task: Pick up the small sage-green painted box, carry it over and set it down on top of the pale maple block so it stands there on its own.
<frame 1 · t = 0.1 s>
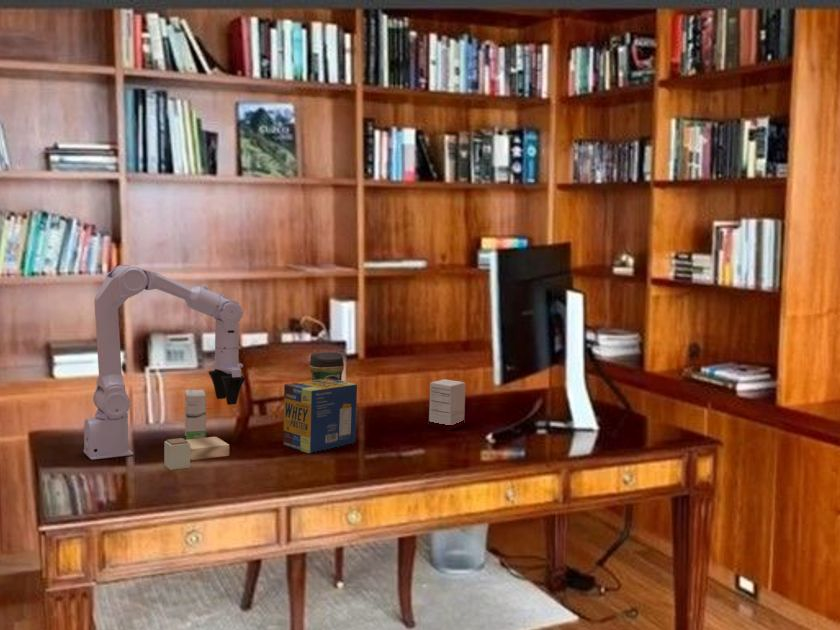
hand: (226, 401, 215), 10 cm above the table, tool pointing down, fingers open, 7 cm apart
protein box: (319, 445, 216), on the table
ink box: (195, 438, 218), on the table
coffee jar: (325, 417, 248), on the table
sage box: (177, 466, 193), on the table
maple block: (204, 455, 204), on the table
supplement box: (446, 427, 239), on the table
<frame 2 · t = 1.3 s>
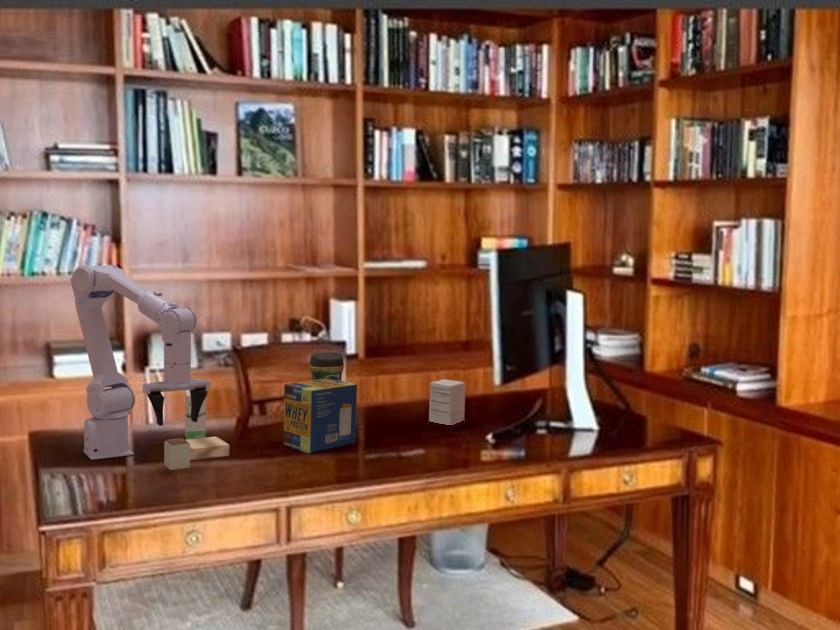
hand: (177, 423, 192), 10 cm above the table, tool pointing down, fingers open, 7 cm apart
nothing on the table moved.
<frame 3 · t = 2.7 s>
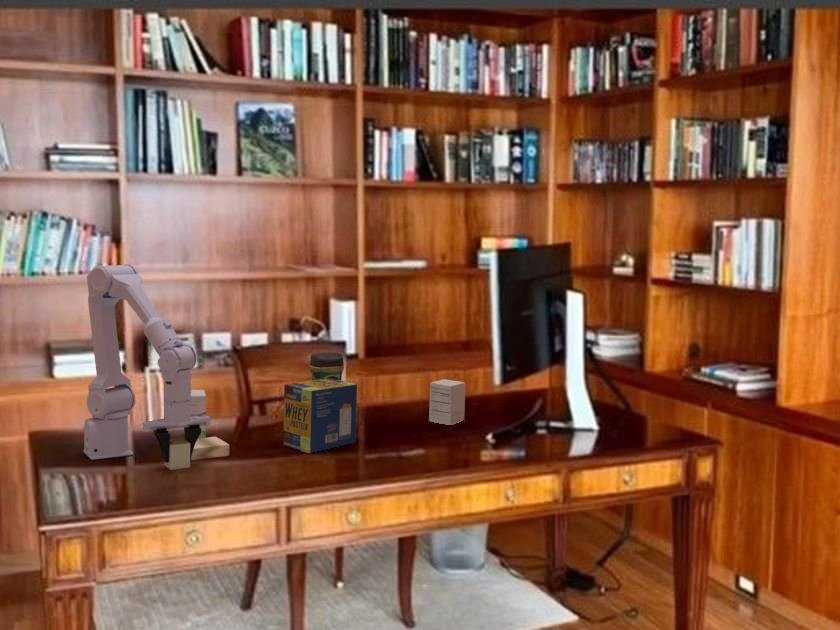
hand: (177, 460, 193), 1 cm above the table, tool pointing down, fingers closed on sage box, 4 cm apart
sage box: (177, 466, 193), on the table, touching gripper
everything else where it was.
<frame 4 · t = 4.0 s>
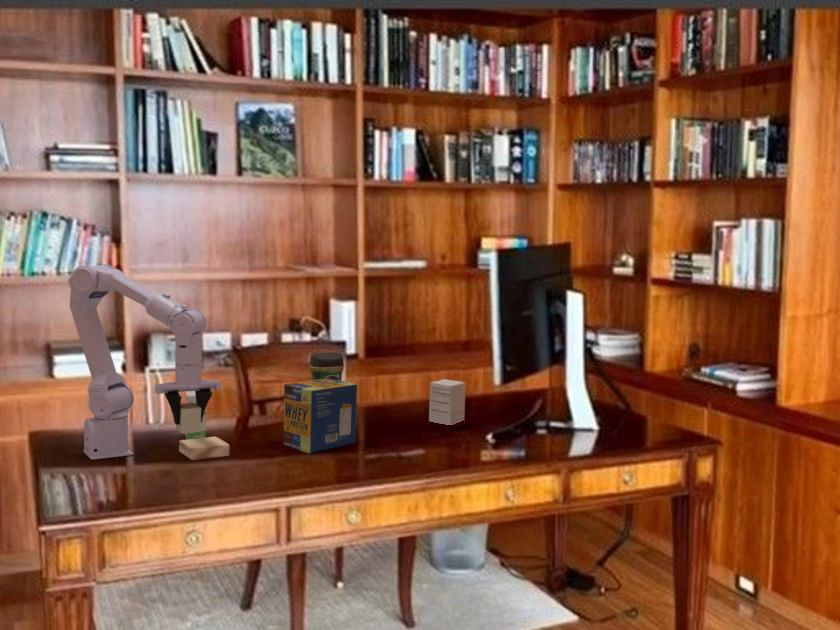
hand: (188, 422, 196), 9 cm above the table, tool pointing down, fingers closed on sage box, 4 cm apart
sage box: (188, 430, 196), point 7 cm above the table, touching gripper
everything else where it was.
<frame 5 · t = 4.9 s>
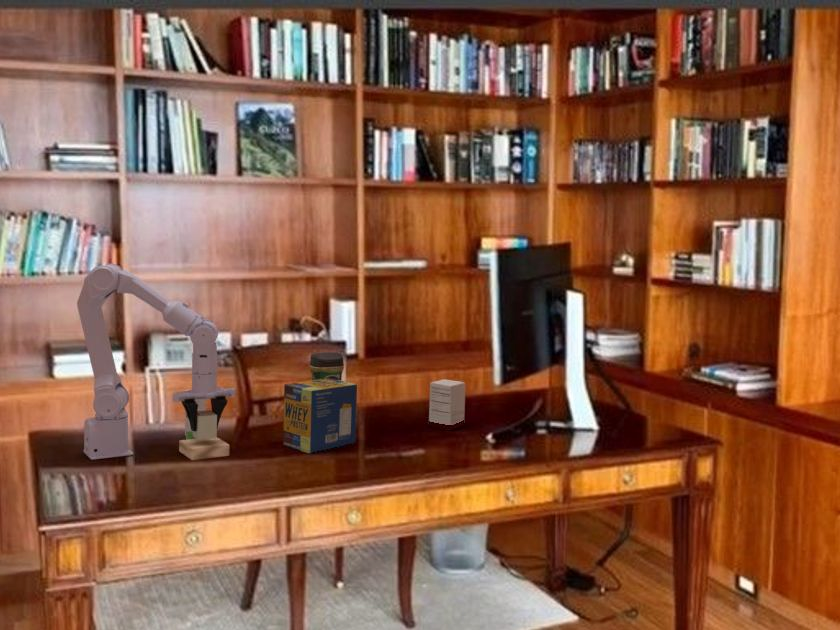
hand: (204, 429, 204), 6 cm above the table, tool pointing down, fingers closed on sage box, 4 cm apart
sage box: (204, 436, 204), point 4 cm above the table, touching gripper
everything else where it was.
when the fingers open (5 cm above the table, at t = 5.5 s): sage box stays where it is, point 3 cm above the table.
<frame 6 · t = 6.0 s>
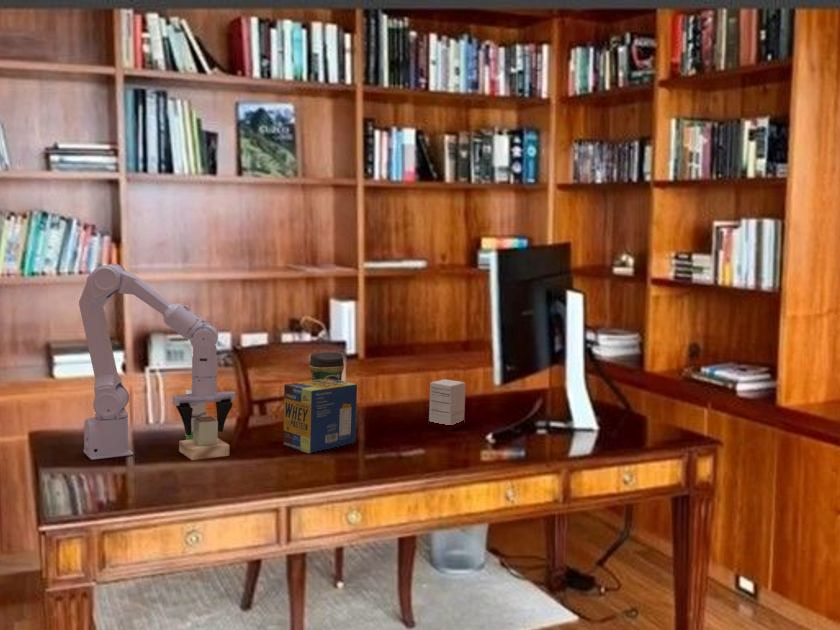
hand: (204, 432, 204), 5 cm above the table, tool pointing down, fingers open, 7 cm apart
sage box: (205, 442, 204), point 3 cm above the table
everything else where it was.
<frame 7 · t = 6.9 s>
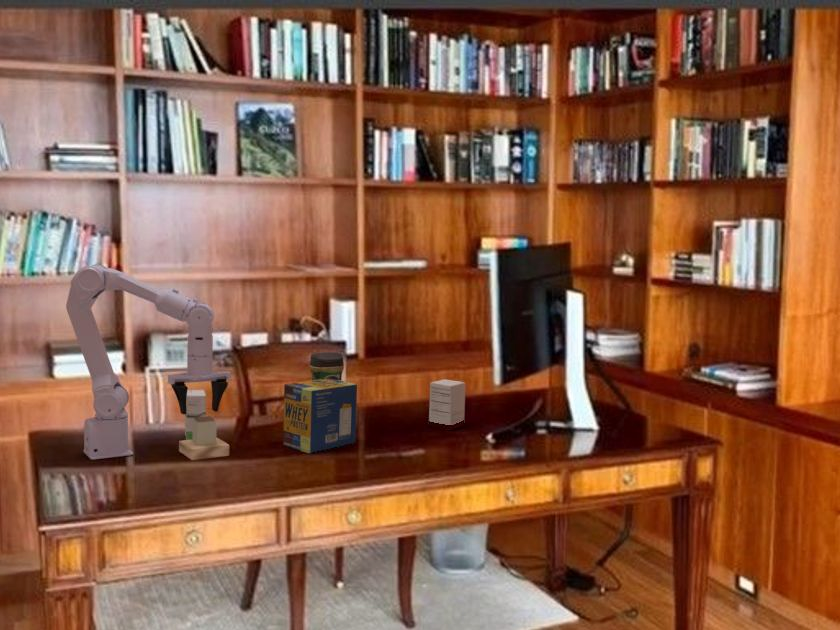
hand: (199, 412, 203), 10 cm above the table, tool pointing down, fingers open, 7 cm apart
sage box: (204, 442, 204), point 2 cm above the table, touching maple block
maple block: (204, 455, 204), on the table, touching sage box
everything else where it was.
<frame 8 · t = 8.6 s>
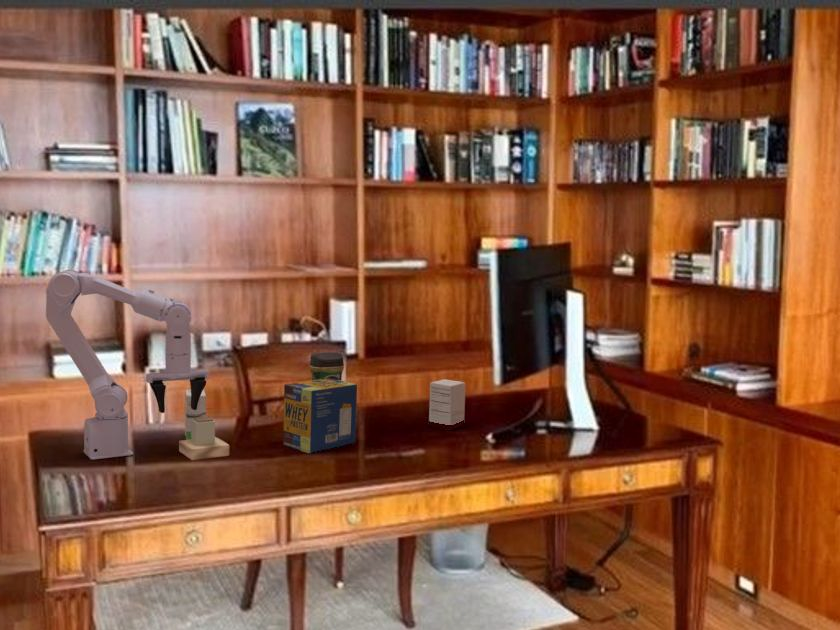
hand: (178, 410, 204), 10 cm above the table, tool pointing down, fingers open, 7 cm apart
nothing on the table moved.
at the end: sage box 0.3 cm off-centre on the maple block, point 3.0 cm above the maple block's base; sage box tilted 1°; the gripper is holding nothing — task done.
